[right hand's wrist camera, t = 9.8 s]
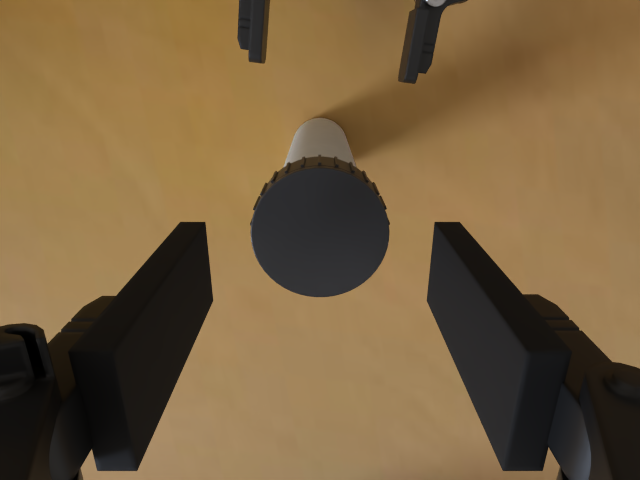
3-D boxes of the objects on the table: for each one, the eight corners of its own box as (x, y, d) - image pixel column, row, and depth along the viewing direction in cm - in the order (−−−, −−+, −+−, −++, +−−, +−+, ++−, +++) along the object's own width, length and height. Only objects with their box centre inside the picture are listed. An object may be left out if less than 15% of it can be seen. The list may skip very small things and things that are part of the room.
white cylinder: (317, 183, 35) (315, 300, 18) (281, 143, 33) (241, 227, 16) (358, 147, 34) (397, 236, 17) (322, 105, 32) (324, 154, 15)
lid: (315, 297, 19) (315, 323, 17) (229, 213, 18) (218, 230, 16) (409, 222, 18) (420, 241, 16) (325, 125, 17) (326, 133, 15)
